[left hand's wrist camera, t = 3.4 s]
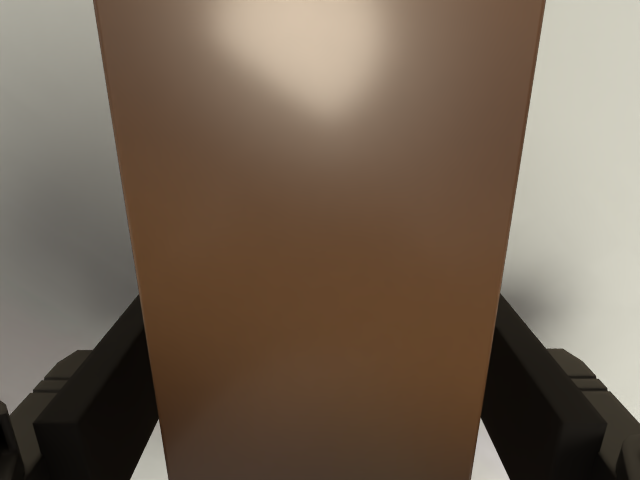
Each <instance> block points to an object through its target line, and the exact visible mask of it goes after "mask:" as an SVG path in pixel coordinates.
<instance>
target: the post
mask: <svg viewBox="0 0 640 480" xmlns="http://www.w3.org/2000/svg"><path fill="white" fill-rule="evenodd" d="M93 3H94V10H95V16H96V22H97V29H98V35H99V41H100V48H101V54H102V60H103V67H104V73H105V79H106V86H107V92H108V98H109V105H110V111H111V118H112V124H113V130H114V137H115V143H116V149H117V156H118V162H119V168H120V175H121V181H122V187H123V194H124V200H125V206H126V213H127V219H128V225H129V232H130V238H131V244H132V251H133V257H134V263H135V270H136V276H137V283H138V289H139V295H140V302H141V308H142V314H143V321H144V327H145V333H146V340H147V346H148V352H149V359H150V365H151V371H152V378H153V384H154V390H155V397H156V403H157V409H158V416H159V422H160V428H161V435H162V441H163V448H164V454H165V460H166V467H167V473H168V479H169V480H471V475H472V468H473V462H474V455H475V449H476V443H477V436H478V430H479V424H480V417H481V411H482V404H483V398H484V392H485V385H486V379H487V372H488V366H489V360H490V353H491V347H492V341H493V334H494V328H495V321H496V315H497V309H498V302H499V296H500V290H501V283H502V277H503V270H504V264H505V258H506V251H507V245H508V239H509V232H510V226H511V219H512V213H513V207H514V200H515V194H516V188H517V181H518V175H519V168H520V162H521V156H522V149H523V143H524V136H525V130H526V124H527V117H528V111H529V105H530V98H531V92H532V85H533V79H534V73H535V66H536V60H537V54H538V47H539V41H540V34H541V28H542V22H543V15H544V9H545V3H546V0H93Z"/></svg>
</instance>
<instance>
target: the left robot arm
mask: <svg viewBox="0 0 640 480" xmlns="http://www.w3.org/2000/svg"><path fill="white" fill-rule="evenodd" d="M158 419H159V416H158V409H157V403H156V397H155V390H154V384H153V378H152V371H151V365H150V359H149V352H148V346H147V340H146V333H145V327H144V321H143V314H142V308H141V302H140V295H138V296H137V297H136V299H135V300H134V301H133V302H132V303H131V305H130V306H129V307H128V308H127V309H126V311H125V312H124V313H123V314H122V315H121V317H120V318H119V319H118V320H117V322H116V323H115V324H114V325H113V326H112V328H111V329H110V330H109V331H108V332H107V334H106V335H105V336H104V337H103V338H102V340H101V341H100V342H99V343H98V345H97V346H96V347H95V348H94V349H93V350H77V351H76V352H74V353H72V354H71V355H69V356H68V357H66V358H65V359H63V360H61V361H60V362H58V363H57V364H56V365H55V366H54V367H53V369H52V370H51V371H50V372H49V373H48V374H47V375H46V376H45V377H44V380H42V381H41V382H40V383H39V384H38V385H37V386H36V387H35V388H34V389H33V393H30V394H29V395H28V396H27V397H26V398H25V399H24V400H23V401H22V403H21V404H20V405H19V406H18V407H17V408H16V409H15V410H14V411H13V412H12V414H11V415H10V416H9V414H8V410H7V407H6V404H4V403H3V402H2V401H0V480H130V478H131V476H132V474H133V472H134V470H135V468H136V466H137V464H138V461H139V459H140V457H141V455H142V453H143V451H144V449H145V447H146V444H147V442H148V440H149V438H150V436H151V434H152V432H153V430H154V427H155V425H156V423H157V421H158ZM481 419H482V421H483V423H484V425H485V427H486V430H487V432H488V434H489V436H490V438H491V440H492V442H493V444H494V447H495V449H496V451H497V453H498V455H499V457H500V459H501V461H502V464H503V466H504V468H505V470H506V472H507V474H508V476H509V479H510V480H640V423H639V422H638V421H637V420H636V419H635V418H634V417H633V416H632V415H631V414H630V412H629V411H628V410H627V409H626V408H625V407H624V406H623V405H622V404H621V403H620V402H619V400H618V399H617V398H616V397H615V396H614V395H613V394H612V393H611V392H610V391H607V387H606V386H605V385H604V384H603V383H602V382H601V381H600V380H599V379H596V375H595V374H594V373H593V372H592V371H591V370H590V369H589V368H588V367H587V366H586V365H585V363H584V362H583V361H581V360H580V359H578V358H577V357H575V356H573V355H572V354H570V353H569V352H567V351H565V350H564V349H546V348H545V347H544V346H543V345H542V343H541V342H540V341H539V340H538V338H537V337H536V336H535V335H534V334H533V332H532V331H531V330H530V329H529V328H528V326H527V325H526V324H525V323H524V322H523V320H522V319H521V318H520V317H519V316H518V314H517V313H516V312H515V311H514V309H513V308H512V307H511V306H510V305H509V303H508V302H507V301H506V300H505V299H504V297H503V296H502V295H501V294H500V296H499V302H498V309H497V315H496V321H495V328H494V334H493V341H492V347H491V353H490V360H489V366H488V372H487V379H486V385H485V392H484V398H483V404H482V411H481Z"/></svg>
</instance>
